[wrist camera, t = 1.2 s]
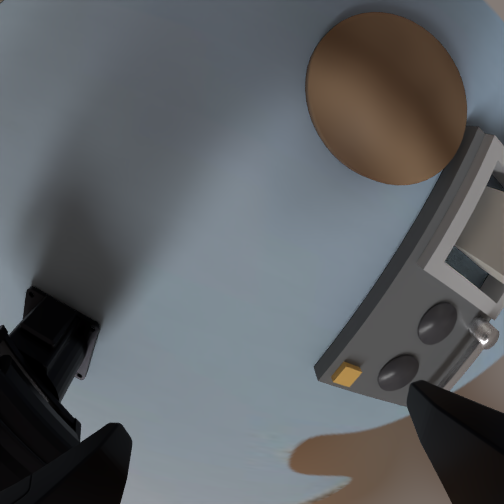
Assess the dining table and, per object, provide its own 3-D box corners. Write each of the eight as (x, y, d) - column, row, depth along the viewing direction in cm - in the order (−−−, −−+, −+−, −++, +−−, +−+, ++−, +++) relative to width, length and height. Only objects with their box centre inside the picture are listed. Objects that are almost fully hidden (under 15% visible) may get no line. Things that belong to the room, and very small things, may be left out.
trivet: (413, 212, 20) (421, 217, 19) (271, 121, 17) (273, 121, 16) (475, 87, 17) (485, 86, 16) (353, -12, 14) (359, -19, 13)
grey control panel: (410, 398, 26) (421, 416, 24) (313, 367, 24) (320, 389, 21) (535, 211, 20) (555, 219, 18) (464, 125, 18) (488, 127, 15)
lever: (410, 393, 26) (427, 422, 22) (398, 390, 25) (415, 420, 22) (476, 310, 23) (502, 333, 19) (466, 303, 23) (493, 327, 19)
